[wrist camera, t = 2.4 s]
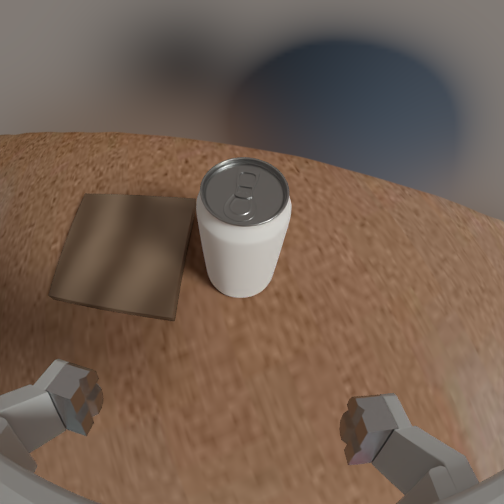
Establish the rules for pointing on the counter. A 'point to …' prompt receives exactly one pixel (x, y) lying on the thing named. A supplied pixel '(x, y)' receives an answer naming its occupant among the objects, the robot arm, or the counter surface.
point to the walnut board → (126, 254)
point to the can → (242, 224)
